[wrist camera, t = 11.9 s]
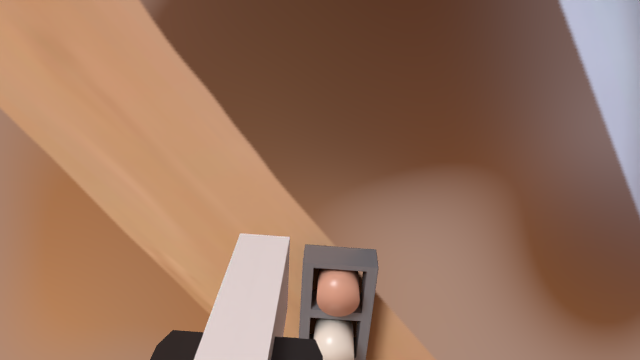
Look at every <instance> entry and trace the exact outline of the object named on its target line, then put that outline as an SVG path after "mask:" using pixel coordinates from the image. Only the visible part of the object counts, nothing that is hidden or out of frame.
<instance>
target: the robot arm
mask: <svg viewBox="0 0 640 360" xmlns="http://www.w3.org/2000/svg"><path fill="white" fill-rule="evenodd" d="M289 247H290V237H282V236H268V235H255V234H241V233H240V236H239V238H238V241H237V244H236V246H235V249H234V252H233V255H232V257H231V260H230V263H229V265H228V268H227V271H226V274H225V276H224V279H223V282H222V285H221V287H220V290H219V293H218V295H217V298H216V301H215V304H214V306H213V309H212V312H211V314H210V317H209V320H208V323H207V325H206V328H205V331H204V332H203V333H202V332H190V331H177V330H173V331H172V332H170V334H169V335H167V336H166V337H165V338H164V339H163V340H162V341H161V342H160V343H159V344H158V345H157V346H156V348H155V351H154V353H153V355H152V357H151V359H150V360H323V356H322V353H321V351H320V349H319V347H318V344H317V342H316V340H315V339H302V338H288V337H283V332H284V326H285V319H286V313H287V301H288V274H289Z"/></svg>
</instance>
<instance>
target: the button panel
mask: <svg viewBox="0 0 640 360" xmlns="http://www.w3.org/2000/svg"><path fill="white" fill-rule="evenodd" d="M314 268H324V269H338V270H352V271H363V277H362V285H361V293H359V296H360V302H359V305H358V307H357V309H356V310H355V311H354V312H353V313H351V314H349V315H346V316H342V317H335V316H331V315H328V314H326V313H324V312H323V311H322V310H321V309H320V308H319V306H318V304H317V290H312V288H313V273H314ZM377 274H378V261H377V253H376V250H374V249H360V248H346V247H333V246H319V245H305V250H304V258H303V271H302V290H301V309H300V328H299V338H302V339H314V334H310V318H324V319H338V320H351V321H357V326H356V334H355V337H353V339H354V360H366V353H367V346H368V339H369V332H370V325H371V318H372V310H373V303H374V296H375V289H376V281H377Z"/></svg>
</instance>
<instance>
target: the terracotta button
mask: <svg viewBox="0 0 640 360" xmlns="http://www.w3.org/2000/svg"><path fill="white" fill-rule="evenodd" d="M359 302H360V296H359V279H358V271H352V270H338V269H324V268H319V272H318V286H317V304H318V306H319V308H320V309H321V310H322V311H323V312H324V313H326V314H328V315H331V316H335V317H342V316H346V315H349V314H351V313H353V312H354V311H355V310H356V309H357V307H358V305H359Z"/></svg>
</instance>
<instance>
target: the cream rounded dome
mask: <svg viewBox="0 0 640 360" xmlns="http://www.w3.org/2000/svg"><path fill="white" fill-rule="evenodd" d="M314 339H315V340H316V342H317V344H318V347H319V349H320V351H321V353H322V356H323V360H354V339H353V324H352V322H351V320H338V319H324V318H318V319H317V321H316V323H315V328H314Z"/></svg>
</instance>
